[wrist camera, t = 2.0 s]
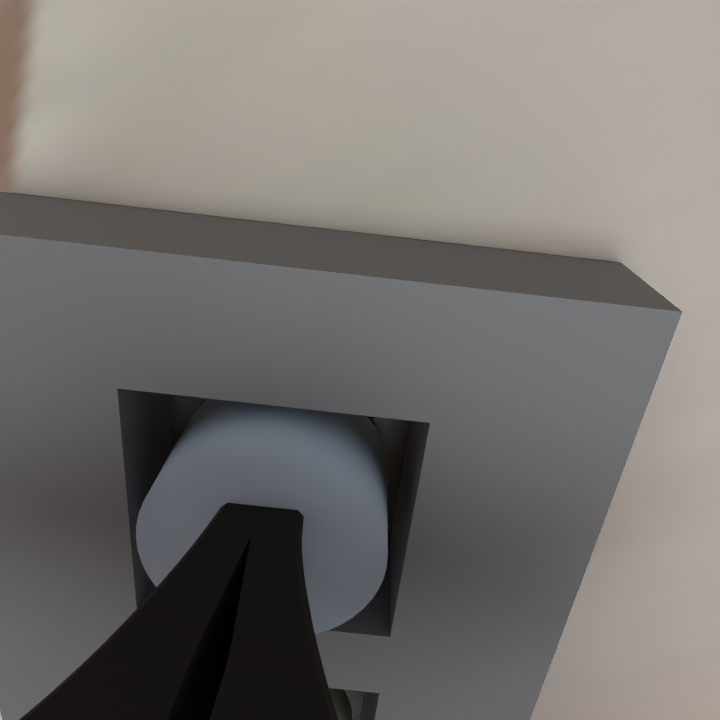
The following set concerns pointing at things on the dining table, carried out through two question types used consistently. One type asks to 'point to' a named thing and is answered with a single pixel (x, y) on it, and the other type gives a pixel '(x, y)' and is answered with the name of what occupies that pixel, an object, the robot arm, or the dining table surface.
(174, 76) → the dining table surface
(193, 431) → the button slate
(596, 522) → the button panel
